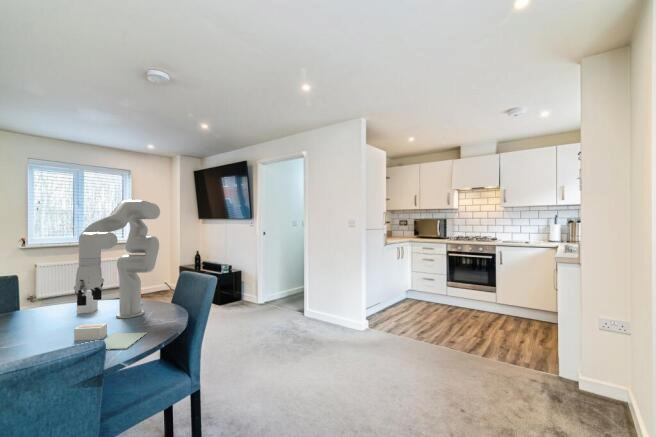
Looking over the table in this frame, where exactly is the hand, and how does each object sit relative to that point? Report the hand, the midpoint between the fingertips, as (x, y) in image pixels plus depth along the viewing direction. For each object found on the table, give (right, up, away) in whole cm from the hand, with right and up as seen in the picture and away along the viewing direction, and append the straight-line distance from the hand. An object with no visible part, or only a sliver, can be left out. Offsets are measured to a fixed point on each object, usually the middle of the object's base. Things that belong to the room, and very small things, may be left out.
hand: (89, 302), depth 133 cm
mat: (+15, -15, -4) cm, 22 cm away
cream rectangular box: (0, -15, +1) cm, 15 cm away
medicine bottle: (-30, -15, +38) cm, 51 cm away
